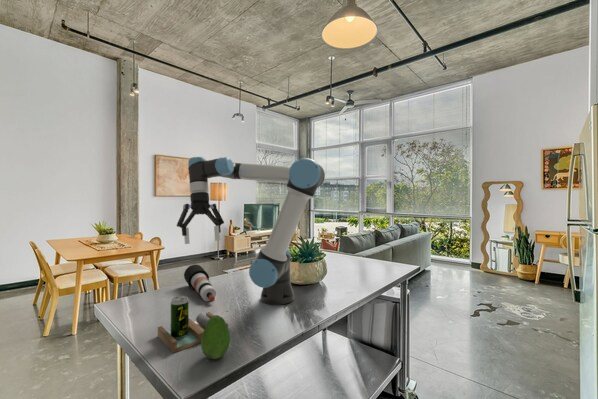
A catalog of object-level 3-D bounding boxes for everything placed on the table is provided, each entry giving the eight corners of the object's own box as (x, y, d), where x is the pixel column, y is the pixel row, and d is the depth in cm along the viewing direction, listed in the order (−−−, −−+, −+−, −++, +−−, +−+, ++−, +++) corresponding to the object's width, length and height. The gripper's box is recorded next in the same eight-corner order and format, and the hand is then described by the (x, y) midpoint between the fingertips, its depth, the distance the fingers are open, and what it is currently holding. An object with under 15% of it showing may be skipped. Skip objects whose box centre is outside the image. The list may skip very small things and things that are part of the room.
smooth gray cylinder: (195, 324, 97) (196, 315, 97) (204, 321, 100) (204, 312, 100) (207, 332, 91) (207, 323, 91) (216, 330, 93) (216, 320, 93)
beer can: (166, 337, 88) (166, 300, 88) (179, 330, 93) (179, 294, 93) (179, 340, 86) (179, 302, 86) (192, 333, 91) (192, 296, 91)
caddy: (209, 319, 103) (209, 311, 103) (227, 332, 93) (227, 323, 93) (157, 336, 91) (157, 327, 91) (172, 353, 81) (173, 342, 81)
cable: (206, 315, 118) (196, 297, 115) (189, 286, 146) (180, 271, 143) (227, 301, 122) (218, 283, 119) (206, 275, 151) (198, 260, 147)
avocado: (217, 368, 74) (217, 323, 74) (195, 361, 77) (195, 318, 77) (235, 353, 81) (235, 312, 81) (214, 347, 84) (214, 308, 84)
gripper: (220, 195, 131) (224, 239, 128) (166, 193, 113) (169, 245, 110) (229, 192, 126) (233, 238, 123) (173, 190, 108) (176, 244, 105)
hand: (202, 242), depth 117 cm, fingers open, 13 cm apart
